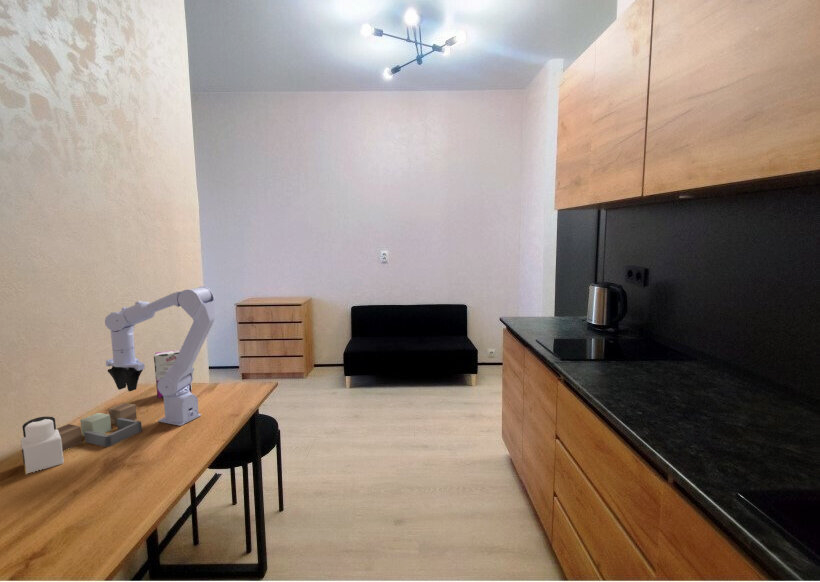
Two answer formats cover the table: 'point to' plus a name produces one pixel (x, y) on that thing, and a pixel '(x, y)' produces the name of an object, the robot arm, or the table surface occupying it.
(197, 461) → the table surface
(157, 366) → the candy bar box
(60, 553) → the table surface
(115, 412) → the walnut block
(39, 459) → the white handled block
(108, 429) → the sage block
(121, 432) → the corral
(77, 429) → the walnut block
